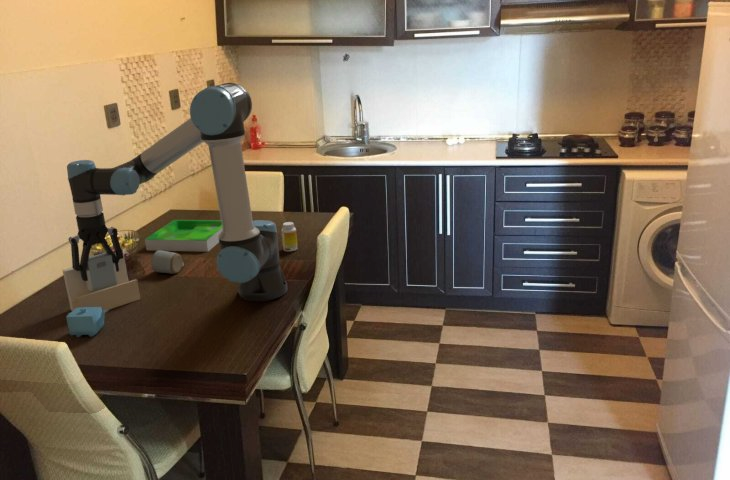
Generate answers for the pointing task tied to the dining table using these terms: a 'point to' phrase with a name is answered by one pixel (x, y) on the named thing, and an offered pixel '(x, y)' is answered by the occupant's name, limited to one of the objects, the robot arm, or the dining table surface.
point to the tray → (186, 236)
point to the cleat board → (105, 297)
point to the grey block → (101, 271)
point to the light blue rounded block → (85, 321)
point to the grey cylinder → (167, 262)
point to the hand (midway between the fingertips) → (102, 285)
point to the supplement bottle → (289, 237)
